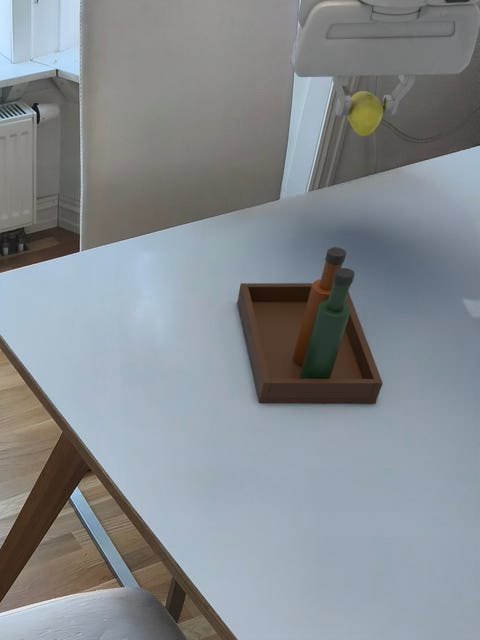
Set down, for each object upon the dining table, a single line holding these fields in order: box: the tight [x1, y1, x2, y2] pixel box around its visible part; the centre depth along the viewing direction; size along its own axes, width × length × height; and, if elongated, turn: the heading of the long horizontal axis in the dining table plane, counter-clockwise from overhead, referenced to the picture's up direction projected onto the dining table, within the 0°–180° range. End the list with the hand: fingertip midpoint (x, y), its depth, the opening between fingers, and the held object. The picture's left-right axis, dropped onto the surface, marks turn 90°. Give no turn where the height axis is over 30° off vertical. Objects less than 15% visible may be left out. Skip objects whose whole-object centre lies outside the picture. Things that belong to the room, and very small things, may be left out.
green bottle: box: [299, 267, 356, 379], centre depth 93 cm, size 3×3×13 cm
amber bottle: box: [293, 246, 347, 366], centre depth 96 cm, size 3×3×13 cm
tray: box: [236, 282, 384, 404], centre depth 102 cm, size 13×21×3 cm, turn 177°
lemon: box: [346, 90, 384, 137], centre depth 109 cm, size 4×8×4 cm, turn 169°
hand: (364, 113), depth 109 cm, fingers closed on lemon, 4 cm apart
